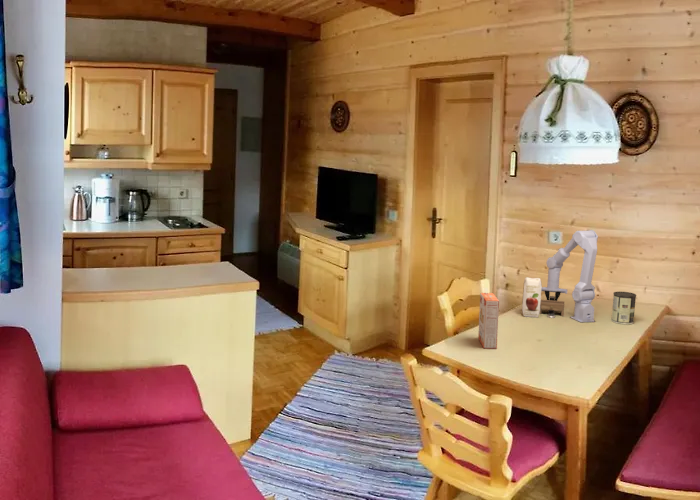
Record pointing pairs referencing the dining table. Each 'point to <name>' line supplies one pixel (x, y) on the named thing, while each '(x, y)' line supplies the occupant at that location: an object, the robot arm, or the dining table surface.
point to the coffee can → (623, 307)
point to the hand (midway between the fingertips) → (551, 305)
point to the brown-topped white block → (551, 312)
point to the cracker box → (488, 320)
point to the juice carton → (531, 297)
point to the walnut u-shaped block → (552, 306)
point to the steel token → (551, 316)
